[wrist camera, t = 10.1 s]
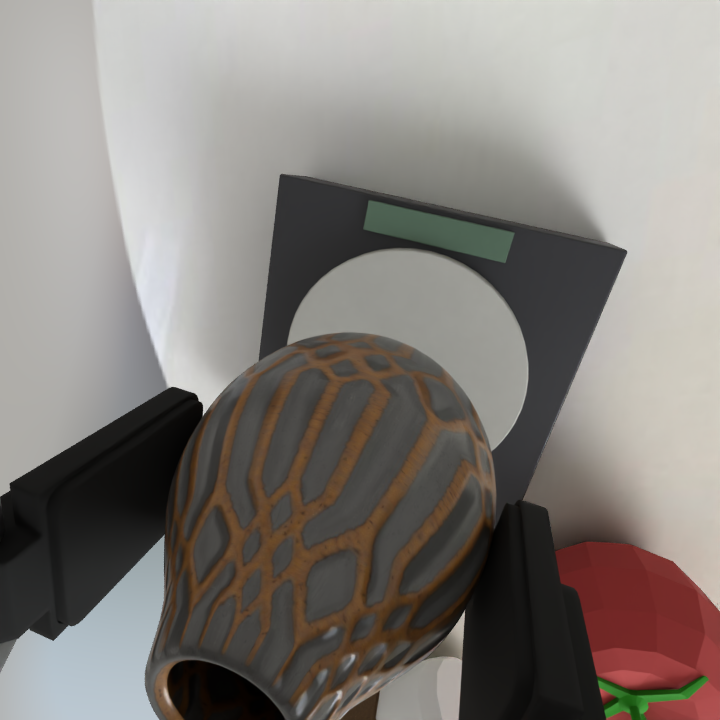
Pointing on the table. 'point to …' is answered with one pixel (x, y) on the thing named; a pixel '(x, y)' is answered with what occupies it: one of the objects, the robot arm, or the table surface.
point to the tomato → (646, 632)
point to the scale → (444, 301)
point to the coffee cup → (416, 694)
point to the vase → (319, 533)
